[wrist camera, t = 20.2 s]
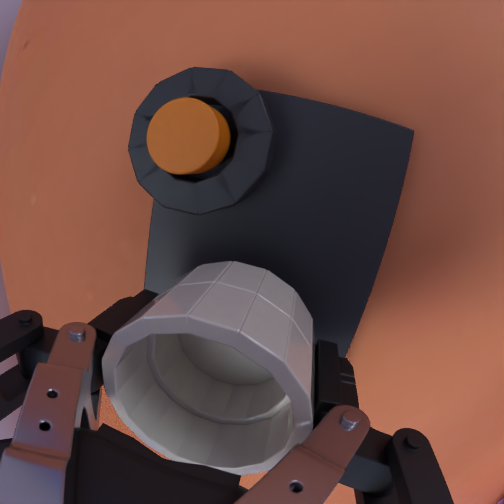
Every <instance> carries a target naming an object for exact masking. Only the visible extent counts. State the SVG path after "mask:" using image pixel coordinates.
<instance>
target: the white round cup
mask: <svg viewBox="0 0 504 504" xmlns="http://www.w3.org/2000/svg"><path fill="white" fill-rule="evenodd" d="M315 360H316V344H315V334H314V325H313V319H312V317H311V315H310V313H309V311H308V310H307V308H306V306H305V305H304V303H303V302H302V300H301V298H300V297H299V295H298V293H297V292H296V291H295V289H294V288H292V287H291V286H289V285H288V284H287V283H285V282H284V281H282V280H281V279H280V278H278V277H277V276H276V275H274V274H273V273H271V272H270V271H269V270H266V269H263V268H259V267H255V266H251V265H248V264H244V263H240V262H236V261H233V262H232V261H226V262H218V263H210V264H202V265H201V266H197V267H196V268H194V269H192V270H191V271H189V272H188V273H186V274H184V275H183V276H181V277H179V278H178V279H176V280H175V281H174V282H173V283H172V284H171V285H169V286H168V287H167V288H166V289H165V290H164V291H162V292H161V293H160V294H159V295H158V296H156V297H155V298H154V299H153V300H152V301H151V302H149V303H148V304H147V305H146V306H145V307H143V308H142V309H141V310H140V311H139V312H138V313H137V314H135V315H134V316H133V317H132V318H131V319H130V320H128V321H127V322H126V323H125V324H124V325H123V326H122V327H120V328H119V329H118V330H117V331H116V332H115V333H114V334H113V335H112V338H111V340H110V342H109V344H108V346H107V348H106V350H105V353H104V355H103V357H102V372H103V382H104V388H105V391H106V393H107V395H108V397H109V399H110V401H111V403H112V405H113V407H114V409H115V411H116V413H117V415H118V416H119V417H120V419H121V420H122V421H123V422H124V423H125V424H126V425H127V426H128V428H129V429H130V430H131V431H132V432H133V433H134V434H135V435H136V436H137V437H138V438H139V439H140V440H141V441H143V442H144V443H145V444H146V445H148V446H150V447H151V448H153V449H154V450H156V451H157V452H159V453H161V454H162V455H164V456H165V457H167V458H169V459H170V460H173V461H178V462H185V463H192V464H200V465H206V466H209V467H212V468H216V469H219V470H222V471H226V472H230V473H233V474H237V475H242V476H243V475H249V474H255V473H260V472H265V471H270V470H271V469H272V468H273V467H274V466H275V465H276V464H277V463H278V462H279V461H280V460H281V459H282V458H283V457H284V456H285V455H286V454H287V453H288V452H289V451H290V450H291V449H292V448H293V447H294V446H295V445H296V444H297V443H299V444H301V443H302V442H303V441H304V440H305V439H306V438H307V437H308V435H309V434H310V433H311V432H312V430H313V427H314V404H315Z"/></svg>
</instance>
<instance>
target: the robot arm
mask: <svg viewBox="0 0 504 504" xmlns="http://www.w3.org/2000/svg"><path fill="white" fill-rule="evenodd" d="M158 295H159V293H155V292H152V291H149V290H147V289H144V290H143V291H141V292H140V293H139V294H137V295H136V296H135V297H131V296H130V297H127V298H123V299H120V300H119V301H117V302H116V303H115V304H113V305H112V306H110V307H109V308H108V309H106V311H104V312H102V313H101V314H100V315H98V316H97V317H96V318H94V319H93V320H92V321H90V322H89V323H88V324H86V323H81V322H73V323H68V324H66V325H64V326H62V327H61V328H60V330H56V329H52V328H48V327H44V326H43V321H42V316H41V315H40V314H39V313H37V312H35V311H32V310H21V311H18V312H15V313H13V314H11V315H9V316H7V317H5V318H3V319H0V362H2V361H4V360H5V359H7V358H9V357H10V356H12V355H14V354H16V356H17V360H18V365H16V366H14V367H13V368H11V369H9V370H8V371H6V372H5V373H3V374H1V375H0V421H1V420H2V419H3V418H5V417H6V416H7V415H9V414H10V413H12V412H13V411H14V410H16V409H17V408H18V407H20V406H21V405H22V408H21V411H20V415H19V418H18V421H17V425H16V428H15V432H14V436H13V438H10V439H3V440H0V504H323V503H324V502H325V500H326V499H327V498H328V496H329V495H330V493H331V492H332V491H333V489H334V488H335V486H336V485H337V483H341V484H343V485H346V486H348V487H351V488H354V492H355V498H356V504H454V503H453V500H452V497H451V494H450V492H449V489H448V487H447V484H446V481H445V479H444V476H443V474H442V471H441V469H440V466H439V464H438V462H437V459H436V457H435V454H434V452H433V450H432V447H431V445H430V443H429V441H428V439H427V438H426V437H425V436H424V435H423V434H422V433H421V432H419V431H417V430H415V429H411V428H402V429H399V430H398V431H396V432H395V434H394V435H393V436H391V435H388V434H385V433H382V432H380V431H377V430H375V429H373V428H372V427H370V420H369V418H368V416H367V415H366V414H365V413H364V412H363V411H361V410H360V409H359V403H358V396H357V389H356V385H355V384H356V383H355V378H354V370H353V366H352V365H351V364H350V362H349V361H348V359H347V358H343V357H339V353H338V345H337V343H333V342H329V341H325V340H320V339H319V340H318V341H317V343H316V360H315V404H314V427H313V430H312V432H311V433H310V434H309V435H308V437H307V438H306V439H305V440H304V441H303V442H302V443H301V444H299V443H297V444H296V445H295V446H294V447H293V448H292V449H291V450H290V451H289V452H288V453H287V454H286V455H285V456H284V457H283V458H282V459H281V460H280V461H279V462H278V463H277V464H276V465H275V466H274V467H273V468H272V469H271V470H270V471H269V472H268V473H267V474H266V475H265V476H263V477H262V478H261V479H260V480H259V481H258V482H257V483H256V484H255V485H254V486H253V487H252V488H250V489H249V490H248V489H246V488H244V487H242V486H240V485H239V482H240V478H241V475H237V474H233V473H230V472H226V471H222V470H219V469H216V468H212V467H209V466H206V465H200V464H192V463H185V462H178V461H172V460H166V459H164V458H162V457H160V456H158V455H157V454H156V453H154V452H153V451H151V450H150V449H148V448H147V447H145V446H144V445H143V444H141V443H140V442H138V441H137V440H136V439H134V438H133V437H131V436H128V435H126V434H124V433H122V432H120V431H118V430H116V429H114V428H112V427H110V426H108V425H106V424H104V423H103V424H102V425H101V426H100V427H99V417H100V406H101V396H102V388H101V386H102V385H103V384H104V382H103V372H102V357H103V355H104V353H105V350H106V348H107V346H108V344H109V342H110V340H111V338H112V335H113V334H114V333H115V332H116V331H117V330H118V329H119V328H120V327H122V326H123V325H124V324H125V323H126V322H127V321H128V320H130V319H131V318H132V317H133V316H134V315H135V314H137V313H138V312H139V311H140V310H141V309H142V308H143V307H145V306H146V305H147V304H148V303H149V302H151V301H152V300H153V299H154V298H155V297H156V296H158Z"/></svg>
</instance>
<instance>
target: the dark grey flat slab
mask: <svg viewBox="0 0 504 504" xmlns="http://www.w3.org/2000/svg"><path fill="white" fill-rule="evenodd" d="M184 97H189V98H195V99H198V100H200V101H202V102H204V103H206V104H208V105H209V106H211V107H213V108H214V109H216V110H217V111H219V112H220V113H221V114H222V115H223V116H224V117H225V119H226V120H227V122H228V125H229V127H230V132H231V142H230V147H229V150H228V152H227V154H226V156H225V158H224V159H223V160H222V162H221V163H220V164H219V165H217V166H216V167H215V168H213V169H212V170H209V171H207V172H204V173H199V174H180V175H178V174H172V173H169V172H166V171H164V170H163V169H161V168H160V167H159V166H158V165H157V164H156V163H155V162H154V161H153V159H152V158H151V156H150V154H149V151H148V147H147V130H148V127H149V124H150V121H151V120H152V118H153V116H154V115H155V113H156V112H157V111H158V110H159V109H160V108H161V107H162V106H163V105H165V104H166V103H168V102H170V101H172V100H174V99H178V98H184ZM413 136H414V130H412V129H409V128H406V127H403V126H401V125H398V124H395V123H392V122H389V121H386V120H383V119H380V118H376V117H373V116H370V115H367V114H363V113H360V112H356V111H353V110H349V109H346V108H342V107H338V106H334V105H330V104H326V103H322V102H318V101H314V100H309V99H305V98H300V97H295V96H290V95H285V94H280V93H274V92H269V91H263V90H256V89H254V88H253V87H252V86H251V85H249V84H248V83H247V82H245V81H244V80H243V79H241V78H240V77H239V76H237V75H236V74H235V73H233V72H232V71H229V70H225V69H214V68H201V67H193V68H189V69H186V70H184V71H182V72H180V73H177V74H175V75H173V76H171V77H169V78H167V79H165V80H163V81H161V82H159V84H156V85H155V87H154V88H153V89H152V91H151V92H150V93H149V94H148V96H147V97H146V98H145V100H144V101H143V102H142V104H141V105H140V106H139V108H138V109H137V110H136V113H135V114H134V119H133V124H132V129H131V134H130V140H129V145H128V148H129V149H128V151H129V154H130V158H131V161H132V165H133V168H134V171H135V175H136V178H137V181H138V182H139V184H140V185H141V186H142V187H143V188H144V189H145V190H146V191H147V192H148V193H149V194H150V195H151V196H152V197H153V198H154V202H153V209H152V216H151V224H150V232H149V241H148V250H147V260H146V271H145V283H144V289H147V290H149V291H152V292H155V293H159V294H160V293H161V292H162V291H164V290H165V289H166V288H167V287H168V286H169V285H171V284H172V283H173V282H174V281H175V280H176V279H178V278H179V277H181V276H183V275H184V274H186V273H188V272H189V271H191V270H192V269H194V268H196V267H197V266H201V265H202V264H210V263H218V262H226V261H232V262H233V261H236V262H240V263H244V264H248V265H251V266H255V267H259V268H263V269H266V270H269V271H270V272H271V273H273V274H274V275H276V276H277V277H278V278H280V279H281V280H282V281H284V282H285V283H287V284H288V285H289V286H291V287H292V288H294V289H295V291H296V292H297V293H298V295H299V297H300V298H301V300H302V302H303V303H304V305H305V306H306V308H307V310H308V311H309V313H310V315H311V317H312V319H313V325H314V334H315V344H316V343H317V341H318V340H319V339H320V340H325V341H329V342H333V343H337V345H338V353H339V357H343V358H345V356H346V353H347V351H348V349H349V346H350V344H351V342H352V339H353V337H354V334H355V332H356V329H357V327H358V324H359V322H360V319H361V317H362V314H363V312H364V309H365V306H366V304H367V301H368V298H369V296H370V293H371V290H372V287H373V284H374V281H375V279H376V276H377V273H378V270H379V267H380V264H381V261H382V258H383V254H384V251H385V248H386V245H387V242H388V238H389V235H390V232H391V228H392V225H393V221H394V218H395V214H396V210H397V206H398V203H399V199H400V195H401V191H402V187H403V183H404V178H405V174H406V170H407V165H408V161H409V156H410V151H411V146H412V141H413Z"/></svg>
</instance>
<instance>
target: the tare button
mask: <svg viewBox="0 0 504 504" xmlns="http://www.w3.org/2000/svg"><path fill="white" fill-rule="evenodd" d="M230 142H231V132H230V127H229V125H228V122H227V120H226V119H225V117H224V116H223V115H222V114H221V113H220V112H219V111H217V110H216V109H214V108H213V107H211V106H209V105H208V104H206V103H204V102H202V101H200V100H198V99H195V98H189V97H184V98H178V99H174V100H172V101H170V102H168V103H166V104H165V105H163V106H162V107H161V108H160V109H159V110H158V111H157V112H156V113H155V115H154V116H153V118H152V120H151V121H150V124H149V127H148V130H147V147H148V151H149V154H150V156H151V158H152V159H153V161H154V162H155V163H156V164H157V165H158V166H159V167H160V168H161V169H163V170H164V171H166V172H169V173H172V174H178V175H180V174H199V173H204V172H207V171H209V170H212V169H213V168H215V167H216V166H217V165H219V164H220V163H221V162H222V160H223V159H224V158H225V156H226V154H227V152H228V150H229V147H230Z"/></svg>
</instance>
